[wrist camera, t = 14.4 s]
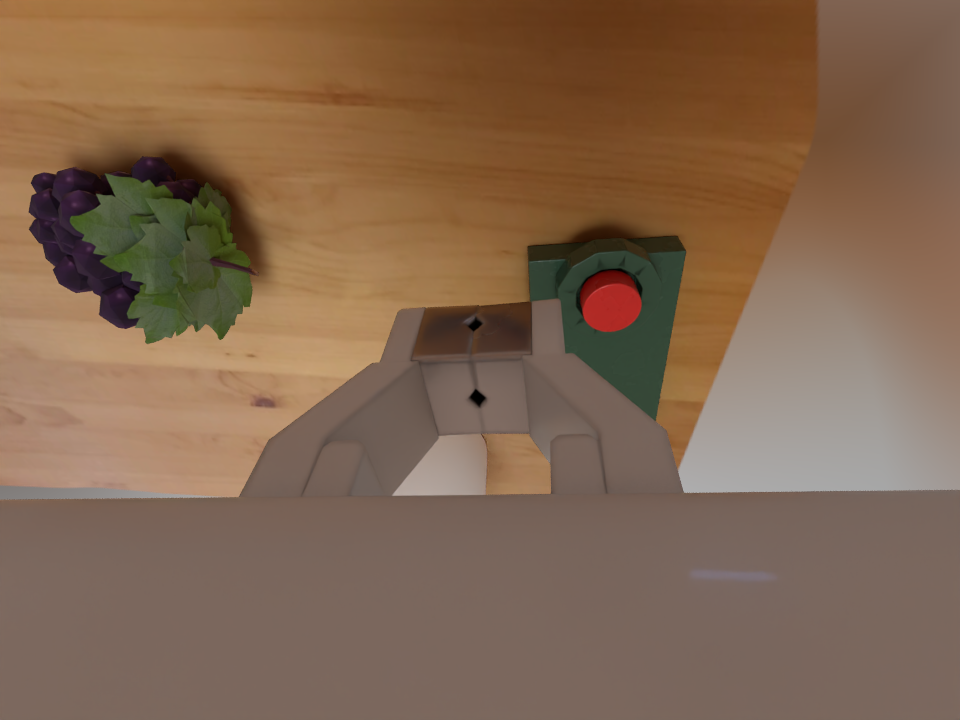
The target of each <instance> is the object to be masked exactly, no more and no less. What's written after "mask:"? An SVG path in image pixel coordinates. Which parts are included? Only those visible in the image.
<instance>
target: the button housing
mask: <svg viewBox="0 0 960 720" xmlns="http://www.w3.org/2000/svg"><path fill="white" fill-rule="evenodd" d="M685 255H686V250H685V248H684V247H683V245H682V243H681V242H680V240H679V238H678V236H670V237H655V238H641V239H627V240H625V239H623V238H611V239H596V240H592V241H590V242H584V243H570V244H555V245H541V246H528V267H529V291H530V302H531V303H532V301H539V300H549V299H559V300H560V301H561V312H562V323H563V334H564V345H565V354H568V353H573V354H575V355H576V356H577V357H578V358H580V359H581V360H582V361H583V362H585V363H586V364H587V365H588V366H589V367H591V368H592V369H593V370H594V371H595V372H597V373H598V374H599V375H600V376H601V377H603V378H604V379H605V380H606V381H607V382H609V383H610V384H611V385H612V386H613V387H615V388H616V389H617V390H618V391H619V392H621V393H622V394H623V395H624V396H626V397H627V398H628V399H629V400H630V401H632V402H633V403H634V404H635V405H636V406H638V407H639V408H640V409H641V410H642V411H644V412H645V413H646V414H647V415H648V416H650V417H651V418H652V419H653V420H654V421H656V416H657V410H658V405H659V399H660V393H661V388H662V382H663V377H664V371H665V366H666V360H667V355H668V349H669V344H670V338H671V332H672V327H673V321H674V316H675V310H676V305H677V299H678V294H679V288H680V283H681V277H682V271H683V266H684V260H685ZM607 270H616V271H621V272H623V273H626V274H627V275H629V276H630V277H631V278H632V279H633V281H634V282H635V284H636V287H637V290H638V292H639V295H640V298H641V302H642V307H641V311H640V313H639V315H638V317H637V318H636V320H635V321H634V322H633V323H632V324H630V325H629V326H627V327H626V328H624V329H621V330H618V331H613V332H604V331H599V330H596V329H594V328H593V327H591V326H590V325H589V324H588V323H587V322H586V321H585V319H584V316H583V312H582V307H581V302H580V292H581V289H582V287H583V285H584V284H585V283H586V281H587V280H588V279H589V278H591V277H592V276H593V275H595V274H597V273H599V272H602V271H607Z"/></svg>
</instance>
